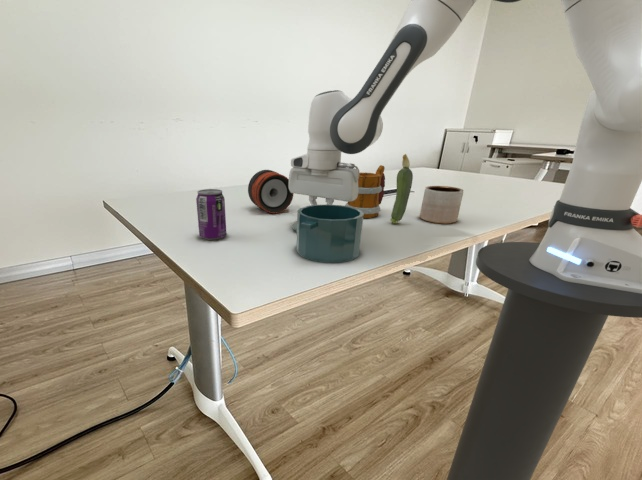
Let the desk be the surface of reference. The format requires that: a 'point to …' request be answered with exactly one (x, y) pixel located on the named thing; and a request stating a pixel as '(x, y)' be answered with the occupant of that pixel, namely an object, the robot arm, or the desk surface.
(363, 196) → the mug
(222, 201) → the beverage can
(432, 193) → the planter
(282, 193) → the oil filter
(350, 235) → the pot
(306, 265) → the desk surface
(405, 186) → the vegetable
